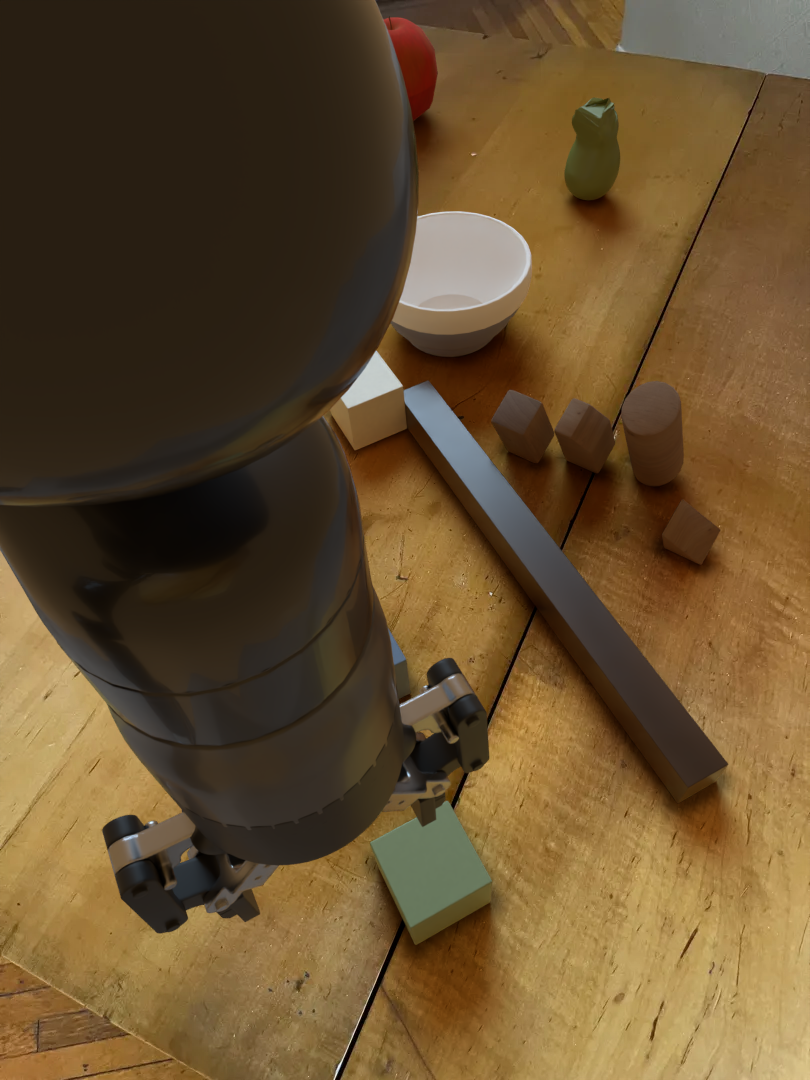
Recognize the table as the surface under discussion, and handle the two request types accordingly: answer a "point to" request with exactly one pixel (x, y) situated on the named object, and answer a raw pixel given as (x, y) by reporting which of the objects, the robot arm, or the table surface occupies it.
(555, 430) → the wooden block set
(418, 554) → the table surface
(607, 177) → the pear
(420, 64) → the apple
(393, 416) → the cream block
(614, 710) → the straightedge
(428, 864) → the green block
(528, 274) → the bowl
